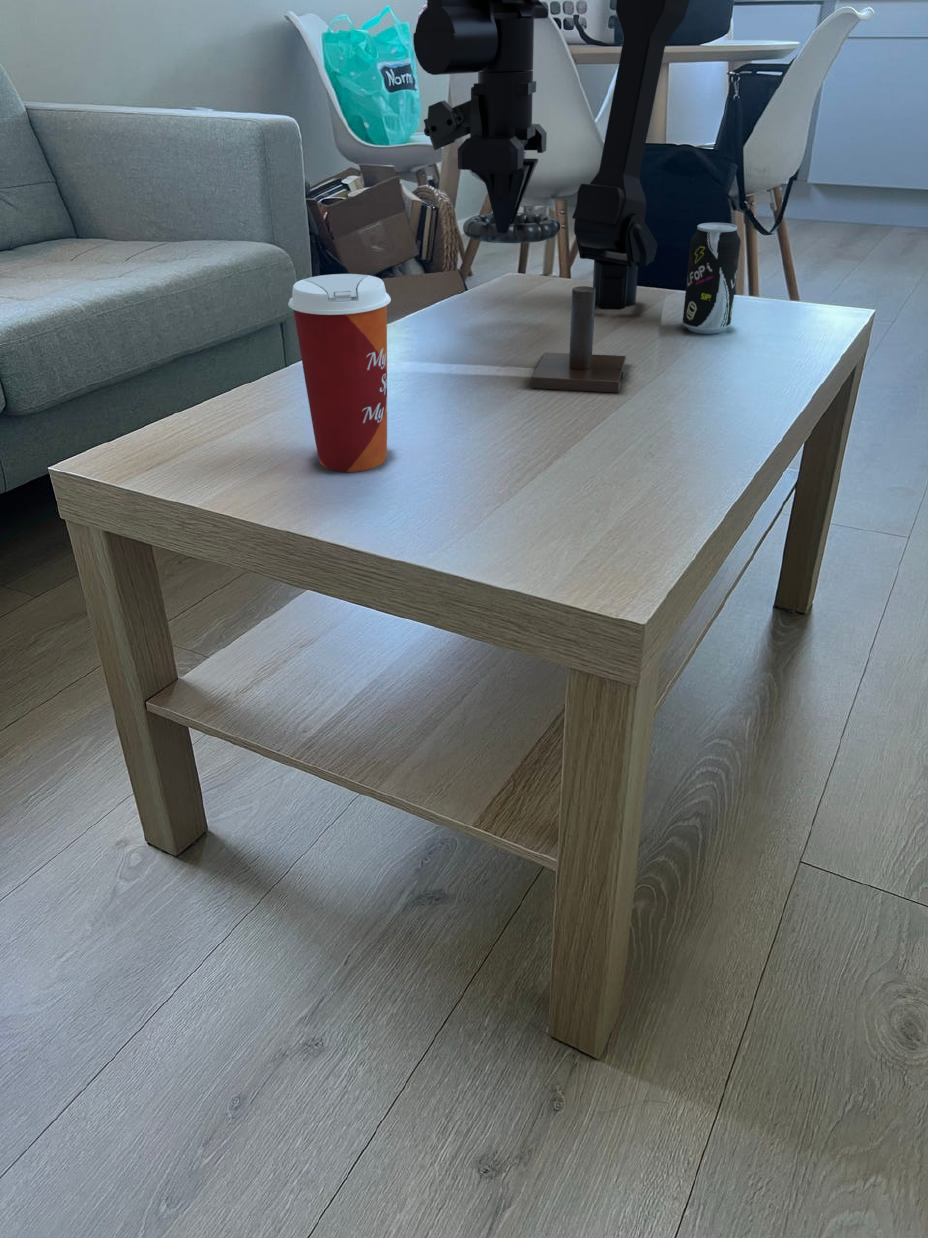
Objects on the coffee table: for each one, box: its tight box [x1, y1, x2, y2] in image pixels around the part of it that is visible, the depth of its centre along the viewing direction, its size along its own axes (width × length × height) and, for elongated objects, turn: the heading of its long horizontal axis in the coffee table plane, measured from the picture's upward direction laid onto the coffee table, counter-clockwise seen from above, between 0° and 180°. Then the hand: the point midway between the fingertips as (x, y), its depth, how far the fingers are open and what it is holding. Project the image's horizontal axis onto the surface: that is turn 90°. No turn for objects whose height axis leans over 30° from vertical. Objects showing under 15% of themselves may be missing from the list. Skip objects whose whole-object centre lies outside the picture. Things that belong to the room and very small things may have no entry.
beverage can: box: [682, 222, 742, 335], centre depth 115 cm, size 6×6×12 cm
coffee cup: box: [288, 273, 392, 473], centre depth 81 cm, size 8×8×15 cm
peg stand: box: [531, 285, 627, 394], centre depth 100 cm, size 9×9×9 cm
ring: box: [462, 212, 561, 244], centre depth 111 cm, size 11×11×2 cm
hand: (504, 231), depth 108 cm, fingers closed on ring, 2 cm apart
